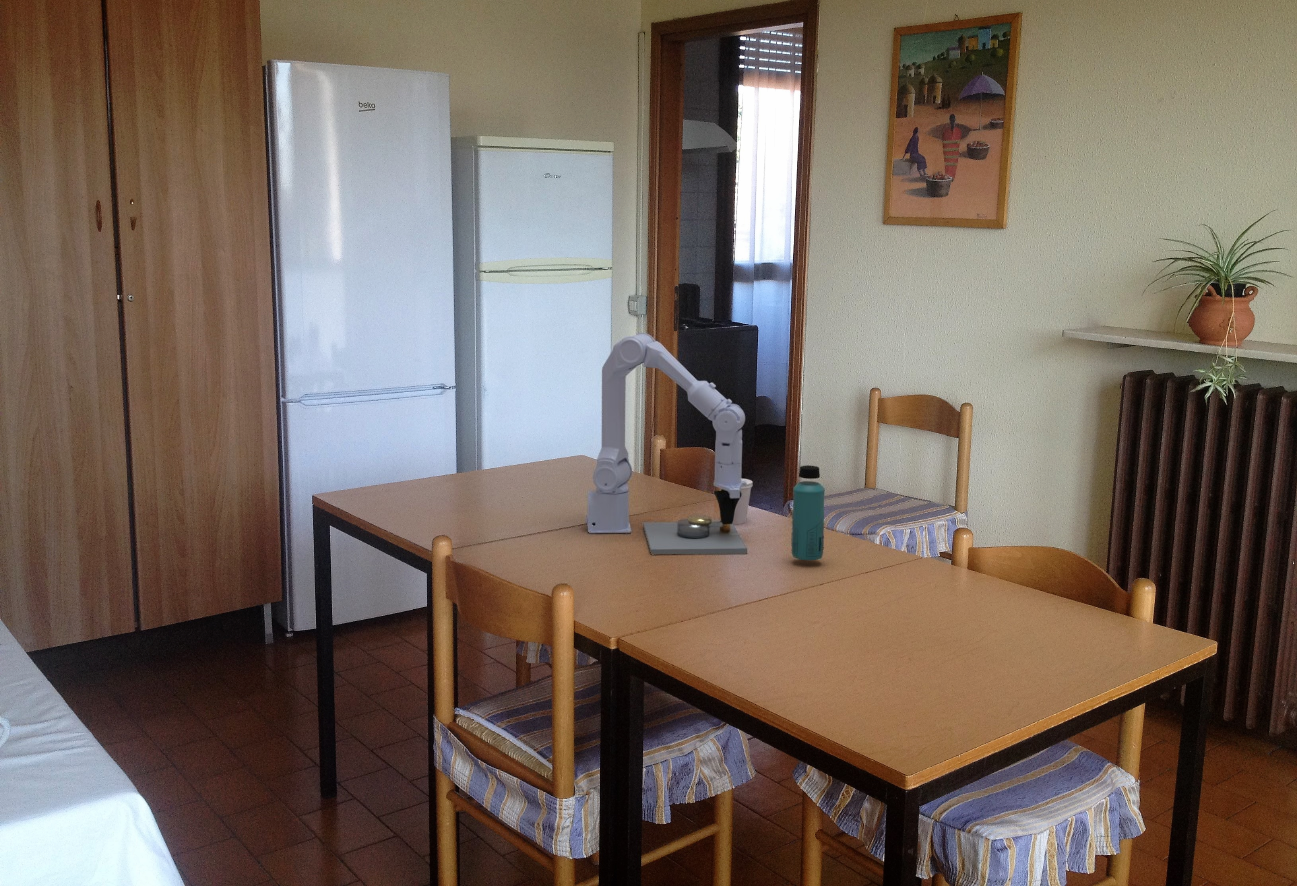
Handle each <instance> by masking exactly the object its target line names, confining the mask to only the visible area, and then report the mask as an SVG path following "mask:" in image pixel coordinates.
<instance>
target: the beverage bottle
mask: <svg viewBox="0 0 1297 886" xmlns="http://www.w3.org/2000/svg"><path fill="white" fill-rule="evenodd" d="M798 477H799V478H801V479H808V480H807V481H805V480H802V481H799V482H797V484H796V485H795V486H793V503H792V521H791V523H792V525H791V527H792V528H791V531H792V532H791V541H790V543H791V544H790V545H791V548H790V550H791V556H792V557H793V558H795V559H798V560H801V561H819V560H821V559H823V555H824V549H825V547H824V545H825V540H824V539H825V535H824V534H825V533H824V532H825V490H826V489H825V487H824V486H823V485H822V484H821V483H820V482H818V481H812V480H814V479H819V478H820V477H821V473H820V467H819V466H817V465H809V464H807V465H800V466H799V473H798ZM809 480H811V481H809Z"/></svg>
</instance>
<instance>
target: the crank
mask: <svg viewBox="0 0 1297 886" xmlns="http://www.w3.org/2000/svg"><path fill="white" fill-rule="evenodd" d="M712 527H720V531H721V532H730V531H731V524H722V522H721V517H720V516H719V519H712V516H710V515H706V514H705V515H704V514H693V515H689V516H688V518H684V519H679V520H678V521H677V534H678V535H679V536H682V537H688V538H701V537H706V536H708V535H709V534H710V528H712Z"/></svg>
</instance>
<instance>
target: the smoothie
mask: <svg viewBox="0 0 1297 886" xmlns="http://www.w3.org/2000/svg"><path fill="white" fill-rule="evenodd" d="M741 481H746V482H747V485H745V486H742V487H741V488H740V491H741V494H742V495H741V498H740V499H739V501H738V503H737V505H736V508H735V513H734V519H733V525H745V524H746V523H747V516H748V509H749V503H750V498H751V489H752V487H753V486H754V485H753V481H752V480H751V479H747V478H741Z"/></svg>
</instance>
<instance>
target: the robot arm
mask: <svg viewBox="0 0 1297 886" xmlns="http://www.w3.org/2000/svg"><path fill="white" fill-rule="evenodd" d="M642 364H643V365H642ZM639 365H642V367H643V368H644V367H645V368H653V369H658V370H660V371H662V373H663V374H665V375H666V376H667V377H669V378H670V380H672V381H673V382H675V383H676V384H677V385H678V386H679V387H681V389H683V390H684V391H686V394H687V400H688V402H689V403H690V404H691V405H693V406H694V407H695V408H696V409H697V410H698V411H699V412H700V413H701V414H702V415H703V416H705V417H706V418H707V419H708V420H709V421H712V427H713V429H714V430H715V447H714V448H715V450H714V452H715V454H714V456H715V457H714V480H713V486H714V487H716V488H717V489H718V488H719V489H720V490H714V491H713V494H714V497H715V498H716V501H717V505H718V508H719V518H720V517H721V522H722V524H732V523H733V519H734V513H735V508H736V505H737V503H738V501H739V499H740V498H741V495H742V494H741V491H740V488H741V487H742V486H745V485H747V482H746V481H741V479H742V464H743V461H742V460H743V458H742V457H743V440H742V439H743V430H742V428H743V426H744V425H745V422H746V415H745V412H744V410H743V409H742V408H741V406H740V405H738V404H736V403H733V401H732V400H731V399H730V398H728V399H727V398H726V397H725V396H724V395H723V394H721V393H720V392H719V391H718V390H717V389H716V387H717V386H716V384H715V383H714V382H710V383H709V382H708V381H707V380H697V378H695V377H694V375H692V374H691V373H690V372H689V371H688V370H687V368H686V367H685V366H684V365H682V363H680V361H679V360H678V359H676V358H675V357H674V356H673V355H672V353H671V352H669V351H668V350H667V349H666V347H664V345H663V344H662V343H661V342H659V341H657V340H655V339H654V337H653V336H652V335H651V334H648V333H645V332H641V333H636V334H635V335H631V336H630V335H629V336H626V337H624V338H622V339H621V340H619V341H618V342H616V343H615V344H614V345H613V347H612V350H611V352H610V354H609V356H608V357H607V358H606V361H605V362H604V364H603V366H602V368H601V449H600V451H599V453H598V456H597V458H596V468H595V469H594V471H593V473H592V480H593V484H594V486H595V487H596V489H593V490H591V489H590V490H587V507H586V508H587V510H586V511H587V515H586V516H585V524H587V532H589V534H619V533H620V534H628V533H629V534H630V533H632V528H631V523H630V522H629V521H630V520H629V515H630V514H629V513H630V512H629V510H630V508H629V507H630V506H629V505H630V504H629V503H630V498H629V497H630V491H629V490H630V487H629V485H628V482H629V481H630V480H631V478H632V474H633V467H632V465H631V463H630V460H629V452H628V450H627V448H626V379H627V378H626V377H627V376H628V375H629V374H630V373H631V372H633V370H634V369H635V368H637V367H638V366H639Z"/></svg>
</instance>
